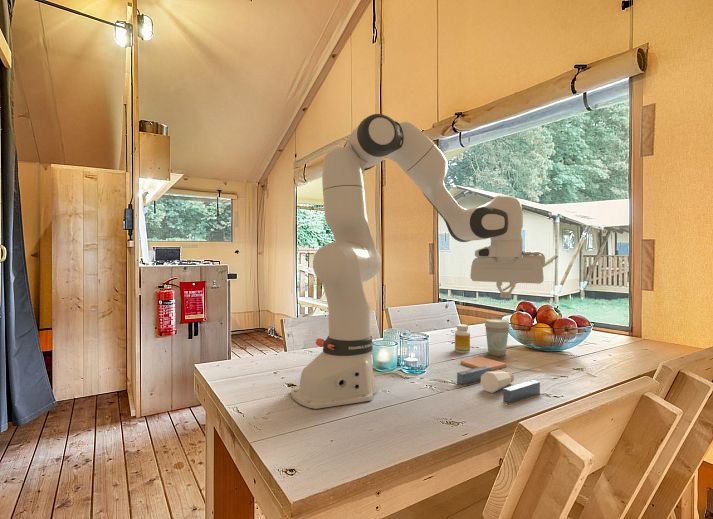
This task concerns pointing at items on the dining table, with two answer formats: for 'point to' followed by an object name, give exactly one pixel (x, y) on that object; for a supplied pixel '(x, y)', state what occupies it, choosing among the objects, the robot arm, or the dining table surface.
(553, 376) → the dining table surface
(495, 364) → the mat
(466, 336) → the supplement bottle
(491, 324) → the coffee cup
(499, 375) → the pepper shaker
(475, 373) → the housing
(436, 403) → the dining table surface
